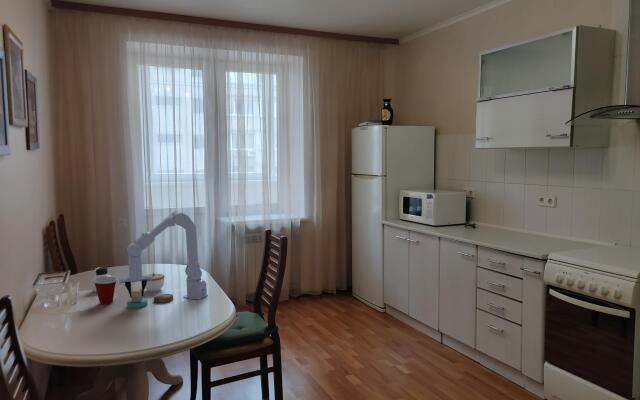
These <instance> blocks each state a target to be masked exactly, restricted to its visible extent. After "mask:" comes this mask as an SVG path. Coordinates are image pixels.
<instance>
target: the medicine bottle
mask: <svg viewBox="0 0 640 400" xmlns="http://www.w3.org/2000/svg"><path fill="white" fill-rule="evenodd" d="M94 272H95V274H94V275H95V276H94V277H91V284H92V286H91V287H92V292H97V290H96V287H95V283H94V282H93V280H94V279H95V278H99V277H112V275H111V274H109V273H108V267H105V266H100V267H96V268H95V269H94Z"/></svg>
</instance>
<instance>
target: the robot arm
mask: <svg viewBox="0 0 640 400" xmlns="http://www.w3.org/2000/svg"><path fill="white" fill-rule="evenodd" d="M176 225H177V226H179V227H182V228H183V229H184V230H185V242H186V244H185V245H186V255H187V256H186V257H187V258H186V267H185V269H184V271H185V275H186V281H185V282H186V283H185V284H186V295H184V296H183V298H185V299H191V300H197V301H198V300H200V299H202V298H205V297H207V296H208V292H207V290H208V289H207V282H206V281H205V280H203V279H202V275H203V272H202V270H201V268H200V263H199V260H198V259H199V257H198V243H197V241H198V240H197V227H196V226H197V225H196V224H195V223H194V222H193V220H192V219H191V217H190V216H189V215H187V214H186V213H184V212H182V211H179V210H176V211H173V212H172V213H171V214H169V215H167V216H166V217H165V218H164V219H163V220H162V221H161V222H160V223H159V224H157V225H156V226H155V227H154V228H153V229H152V230H151V231H146V232H142V233H141V236H139V238H137V239H136V240H135V239H134V240H133V241H132V242H133V243H130V244H128V245H127V248H126V252H127V253H128V256H127V257H128V275H129V276H128V277H123V278H122V277H121V278H119V279H118V280H119V281H118V282H119V285H121V284H124V286H125V288H126V289H127V292H128V294H129V298H130V299H132V298H131V289H132V283H138V282H140V283H141V287H142V297H144V294H145V289H146V288H145V287H146V284H147V281H149V280H150V281H152V276H145V275H143V265H142V263H143V262H142V253H143V251H144V250H145V249H147V247H149V246H150V245H152V243H154V242H155V239H156V237H157V236H158V235H159V234H161V233H162V232H164V231H165V230H166V229H167V228H171V227H175V226H176Z"/></svg>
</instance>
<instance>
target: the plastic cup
mask: <svg viewBox="0 0 640 400" xmlns="http://www.w3.org/2000/svg"><path fill="white" fill-rule="evenodd" d="M117 281H118V278H117V277H116V276H111V277H99V278H95V279H94V280H93V282H94V283H95V287H96V290H97V291H96V295H97V298H98V301H99V304H100V305H101V306H102V305H106V306H107V305H110V304H112V303H114V296H115V289H116V285H117Z"/></svg>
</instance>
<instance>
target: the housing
mask: <svg viewBox="0 0 640 400" xmlns="http://www.w3.org/2000/svg"><path fill="white" fill-rule="evenodd" d="M142 298H143V296H142V286H138V287H131V298H130V299H131V300H132V302H139V301H142Z"/></svg>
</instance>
